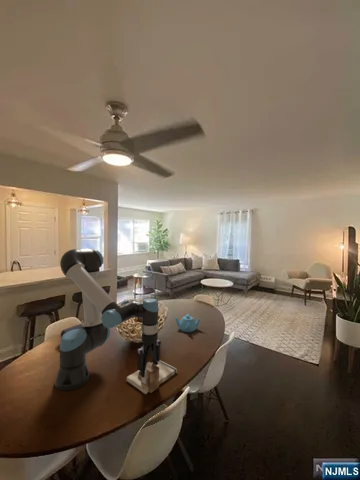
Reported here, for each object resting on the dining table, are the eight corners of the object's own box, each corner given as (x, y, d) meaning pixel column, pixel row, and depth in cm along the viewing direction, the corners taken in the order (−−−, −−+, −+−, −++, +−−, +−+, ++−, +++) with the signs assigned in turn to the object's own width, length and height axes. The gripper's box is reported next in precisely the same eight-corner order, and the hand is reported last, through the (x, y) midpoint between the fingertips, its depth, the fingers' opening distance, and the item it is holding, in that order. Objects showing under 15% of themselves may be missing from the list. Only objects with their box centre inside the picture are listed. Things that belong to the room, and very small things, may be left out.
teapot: (201, 329, 176) (201, 316, 176) (188, 335, 166) (188, 320, 166) (187, 323, 187) (187, 311, 187) (174, 328, 177) (174, 315, 177)
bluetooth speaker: (67, 347, 143) (67, 331, 143) (60, 342, 149) (60, 327, 148) (98, 335, 161) (99, 321, 161) (91, 331, 167) (92, 318, 167)
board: (145, 394, 103) (145, 389, 103) (126, 380, 112) (126, 376, 112) (176, 372, 120) (176, 368, 120) (158, 362, 129) (158, 359, 129)
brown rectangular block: (151, 392, 103) (151, 372, 103) (134, 381, 111) (135, 362, 110) (158, 387, 107) (159, 367, 107) (142, 377, 114) (143, 358, 114)
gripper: (140, 340, 98) (139, 393, 99) (168, 328, 112) (167, 374, 113) (129, 335, 103) (128, 385, 103) (157, 324, 117) (156, 368, 117)
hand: (148, 379), depth 108 cm, fingers closed on brown rectangular block, 5 cm apart
